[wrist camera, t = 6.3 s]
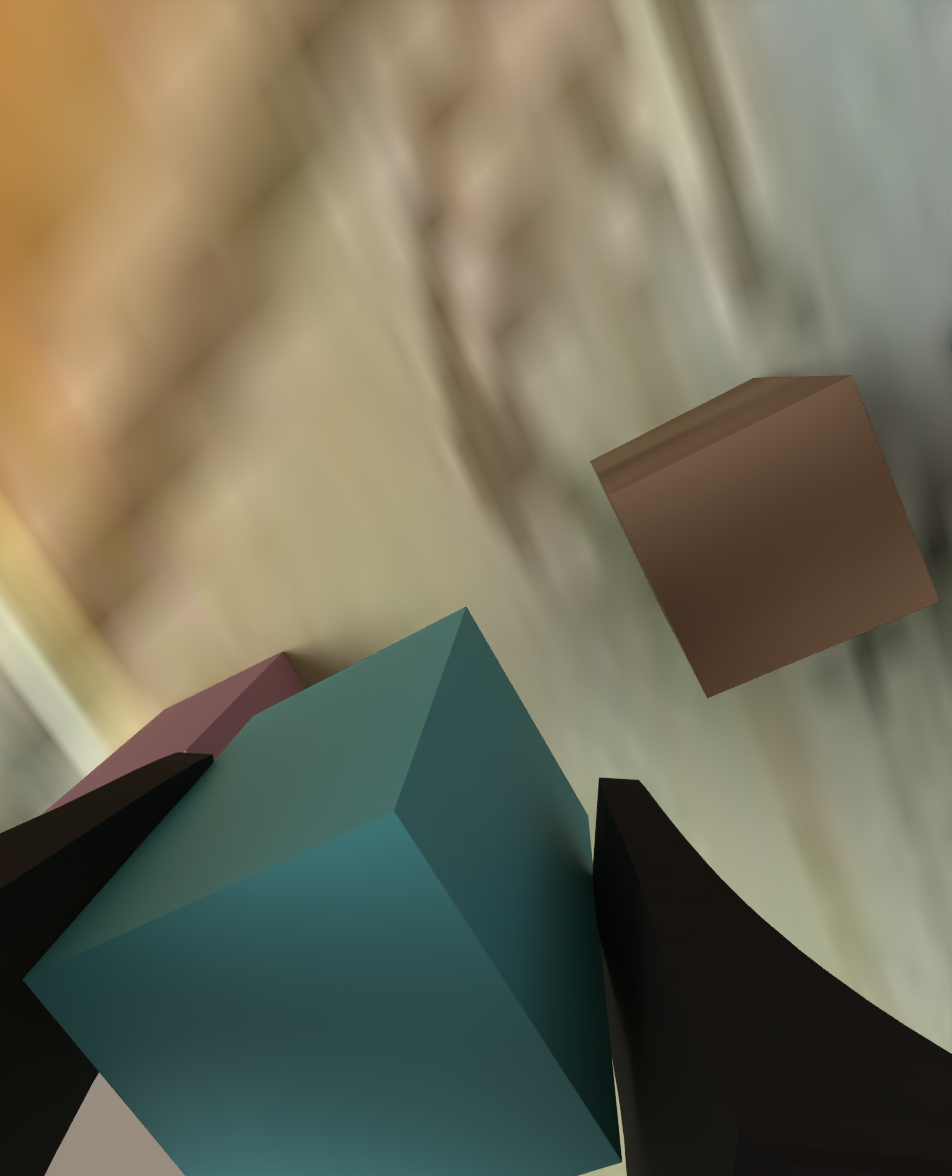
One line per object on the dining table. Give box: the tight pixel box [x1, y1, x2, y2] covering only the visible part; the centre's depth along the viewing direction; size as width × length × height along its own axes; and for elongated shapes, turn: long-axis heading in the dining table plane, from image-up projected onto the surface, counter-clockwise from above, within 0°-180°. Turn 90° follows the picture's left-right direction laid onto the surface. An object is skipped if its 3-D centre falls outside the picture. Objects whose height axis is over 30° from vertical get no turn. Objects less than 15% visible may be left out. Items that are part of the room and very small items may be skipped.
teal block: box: [22, 607, 622, 1176], centre depth 10 cm, size 4×4×6 cm
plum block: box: [43, 652, 306, 814], centre depth 19 cm, size 4×4×6 cm
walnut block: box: [590, 375, 939, 698], centre depth 16 cm, size 4×4×6 cm
